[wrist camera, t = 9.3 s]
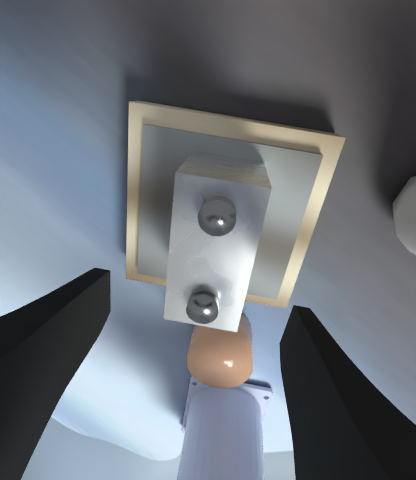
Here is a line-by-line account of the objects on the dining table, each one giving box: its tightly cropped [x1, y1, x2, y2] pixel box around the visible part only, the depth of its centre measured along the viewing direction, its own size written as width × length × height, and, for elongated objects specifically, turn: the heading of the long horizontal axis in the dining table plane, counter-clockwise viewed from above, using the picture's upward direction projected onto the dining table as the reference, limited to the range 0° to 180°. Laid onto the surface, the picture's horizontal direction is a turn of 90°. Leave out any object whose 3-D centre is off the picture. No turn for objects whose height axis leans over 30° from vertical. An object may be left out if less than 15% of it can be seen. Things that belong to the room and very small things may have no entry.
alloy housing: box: [163, 151, 272, 332], centre depth 16 cm, size 8×4×6 cm, turn 172°
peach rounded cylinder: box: [186, 313, 253, 388], centre depth 24 cm, size 5×5×4 cm
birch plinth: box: [126, 101, 345, 308], centre depth 19 cm, size 12×12×2 cm
